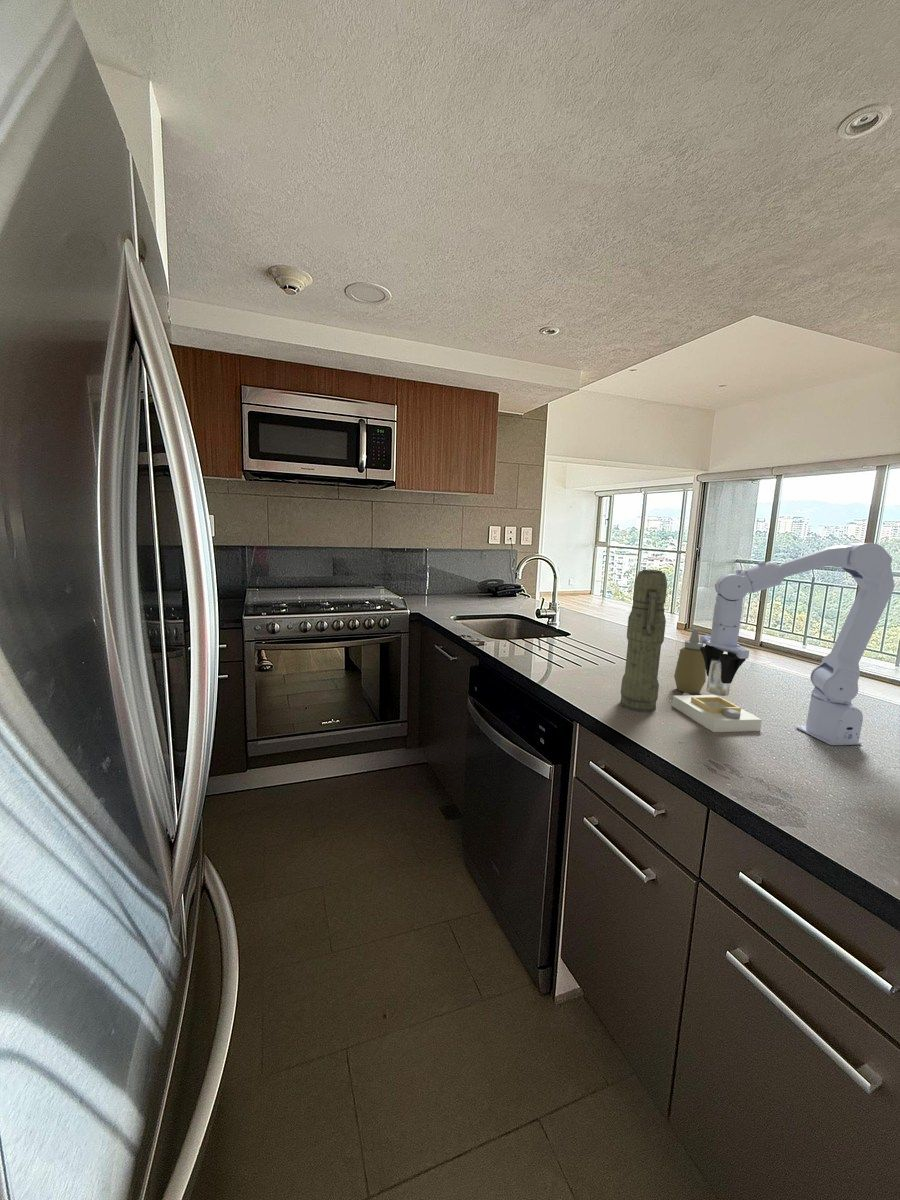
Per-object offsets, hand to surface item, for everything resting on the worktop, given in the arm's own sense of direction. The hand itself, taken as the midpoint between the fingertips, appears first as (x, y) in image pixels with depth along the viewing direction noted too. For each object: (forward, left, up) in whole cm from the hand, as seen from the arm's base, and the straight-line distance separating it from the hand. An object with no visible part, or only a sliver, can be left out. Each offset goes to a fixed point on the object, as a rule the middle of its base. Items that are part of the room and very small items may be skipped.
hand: (718, 679), depth 119 cm
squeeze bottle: (+19, -6, -10) cm, 22 cm away
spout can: (0, 0, -3) cm, 3 cm away
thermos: (+9, +15, -10) cm, 20 cm away
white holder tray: (+2, 0, -10) cm, 10 cm away
